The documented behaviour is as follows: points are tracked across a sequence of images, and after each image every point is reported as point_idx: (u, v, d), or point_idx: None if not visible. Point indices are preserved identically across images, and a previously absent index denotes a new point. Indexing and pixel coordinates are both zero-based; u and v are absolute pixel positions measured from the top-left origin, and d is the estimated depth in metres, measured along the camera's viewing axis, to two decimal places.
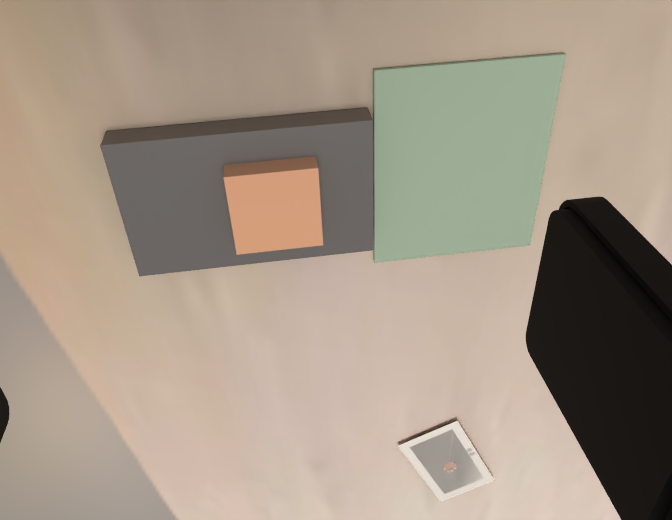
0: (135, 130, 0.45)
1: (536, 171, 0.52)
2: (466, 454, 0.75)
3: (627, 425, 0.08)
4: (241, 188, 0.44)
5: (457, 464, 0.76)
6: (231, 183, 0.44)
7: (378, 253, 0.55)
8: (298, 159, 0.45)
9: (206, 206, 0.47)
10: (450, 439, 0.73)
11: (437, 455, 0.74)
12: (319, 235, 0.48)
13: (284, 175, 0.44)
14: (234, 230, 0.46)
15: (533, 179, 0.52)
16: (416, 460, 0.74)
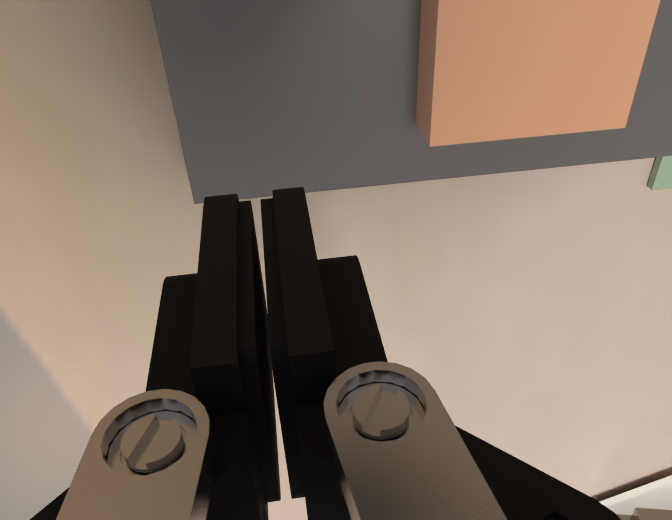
0: None
1: None
2: None
3: None
4: None
5: None
6: None
7: (665, 169, 0.27)
8: None
9: (364, 27, 0.20)
10: (660, 498, 0.46)
11: None
12: (625, 101, 0.20)
13: None
14: (438, 79, 0.19)
15: None
16: None
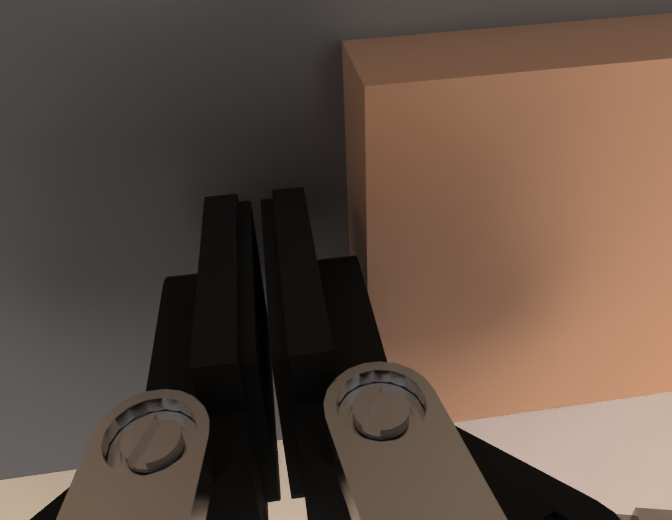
0: None
1: None
2: None
3: None
4: (451, 151, 0.08)
5: None
6: (402, 125, 0.08)
7: None
8: None
9: (177, 245, 0.11)
10: None
11: None
12: None
13: None
14: None
15: None
16: None
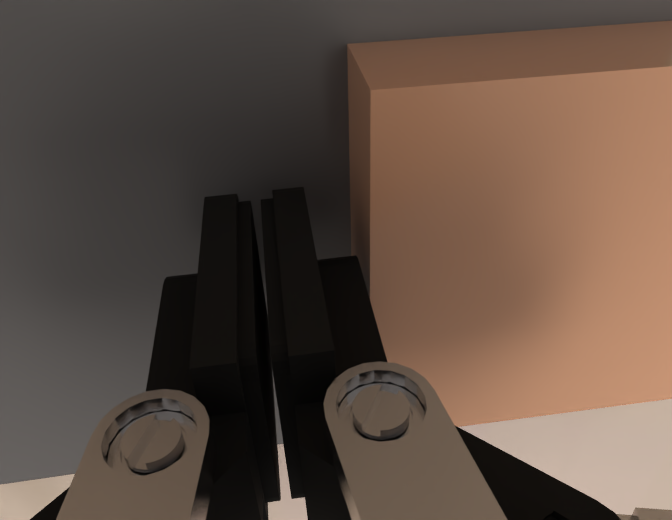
0: None
1: None
2: None
3: None
4: (455, 156, 0.08)
5: None
6: (406, 128, 0.08)
7: None
8: None
9: None
10: None
11: None
12: None
13: None
14: None
15: None
16: None
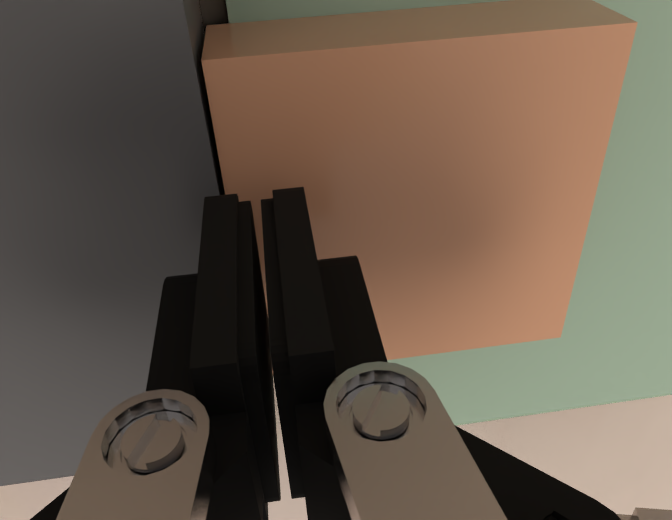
0: None
1: None
2: None
3: None
4: (286, 117, 0.10)
5: None
6: (239, 93, 0.09)
7: None
8: (518, 3, 0.11)
9: None
10: None
11: None
12: (557, 306, 0.13)
13: (483, 55, 0.10)
14: None
15: None
16: None
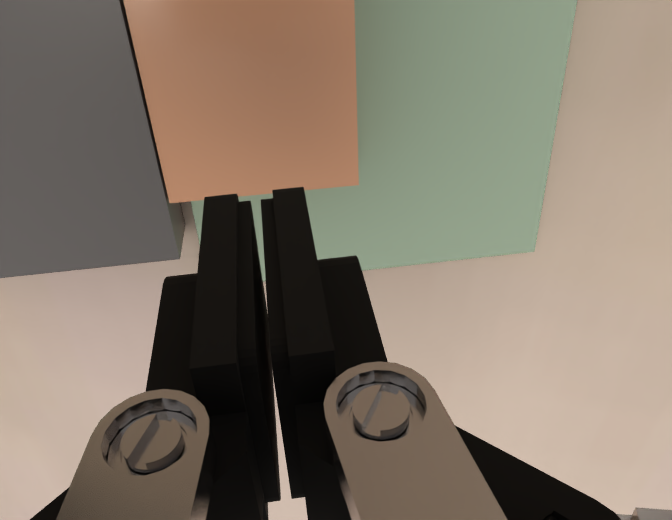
0: None
1: (546, 83, 0.23)
2: None
3: None
4: (170, 30, 0.19)
5: None
6: (143, 16, 0.18)
7: None
8: None
9: None
10: None
11: None
12: (351, 161, 0.22)
13: None
14: (160, 143, 0.20)
15: (540, 103, 0.24)
16: None
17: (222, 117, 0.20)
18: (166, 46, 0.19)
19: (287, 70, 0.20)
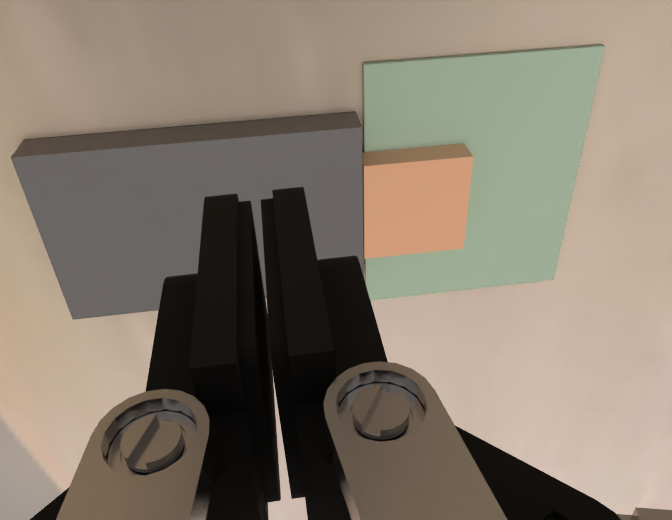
0: (60, 139, 0.35)
1: (564, 191, 0.42)
2: None
3: None
4: (382, 179, 0.38)
5: None
6: (371, 173, 0.37)
7: (370, 289, 0.45)
8: (445, 147, 0.39)
9: (153, 235, 0.38)
10: None
11: None
12: (461, 237, 0.41)
13: (433, 164, 0.37)
14: (366, 230, 0.40)
15: (560, 201, 0.43)
16: None
17: (399, 217, 0.39)
18: (379, 186, 0.38)
19: (435, 195, 0.39)
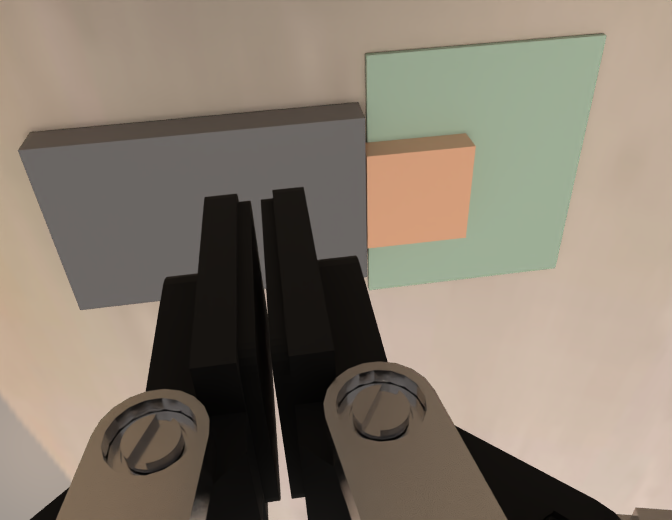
0: (66, 131, 0.36)
1: (565, 180, 0.43)
2: None
3: None
4: (385, 169, 0.38)
5: None
6: (374, 164, 0.38)
7: (373, 279, 0.46)
8: (447, 136, 0.39)
9: (159, 226, 0.38)
10: None
11: None
12: (463, 226, 0.41)
13: (436, 154, 0.38)
14: (369, 220, 0.40)
15: (562, 190, 0.43)
16: None
17: (402, 207, 0.40)
18: (382, 176, 0.38)
19: (438, 185, 0.39)
